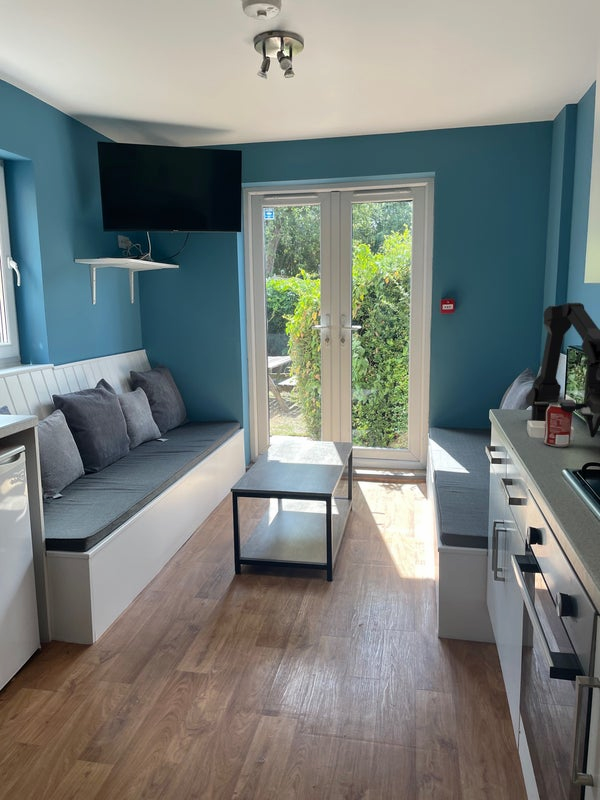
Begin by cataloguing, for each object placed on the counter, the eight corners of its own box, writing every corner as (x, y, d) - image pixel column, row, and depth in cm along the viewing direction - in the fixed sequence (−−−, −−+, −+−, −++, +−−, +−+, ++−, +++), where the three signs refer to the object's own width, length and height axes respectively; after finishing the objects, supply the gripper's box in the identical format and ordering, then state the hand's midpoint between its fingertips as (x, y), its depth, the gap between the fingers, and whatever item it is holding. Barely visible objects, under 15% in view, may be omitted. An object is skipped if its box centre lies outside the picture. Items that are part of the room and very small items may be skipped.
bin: (526, 431, 182) (527, 420, 182) (568, 433, 179) (568, 422, 178) (529, 438, 174) (530, 426, 173) (573, 440, 171) (574, 429, 170)
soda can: (572, 449, 162) (575, 407, 159) (546, 447, 163) (549, 406, 161) (566, 442, 168) (569, 402, 166) (541, 441, 169) (544, 401, 167)
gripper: (565, 385, 155) (560, 442, 157) (643, 388, 150) (637, 446, 152) (558, 379, 165) (554, 432, 168) (631, 381, 160) (626, 436, 163)
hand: (592, 437), depth 163 cm, fingers closed
